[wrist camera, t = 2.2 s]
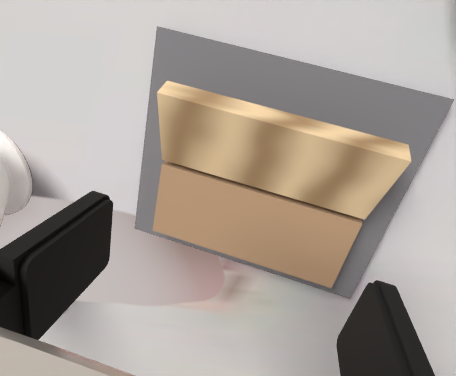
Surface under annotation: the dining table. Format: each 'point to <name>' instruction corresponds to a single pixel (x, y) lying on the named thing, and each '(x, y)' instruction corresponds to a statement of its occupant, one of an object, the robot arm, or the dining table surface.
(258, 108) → the board
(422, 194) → the dining table surface
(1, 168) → the decorative vase
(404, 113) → the floor board
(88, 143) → the dining table surface
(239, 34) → the dining table surface
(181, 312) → the dining table surface
